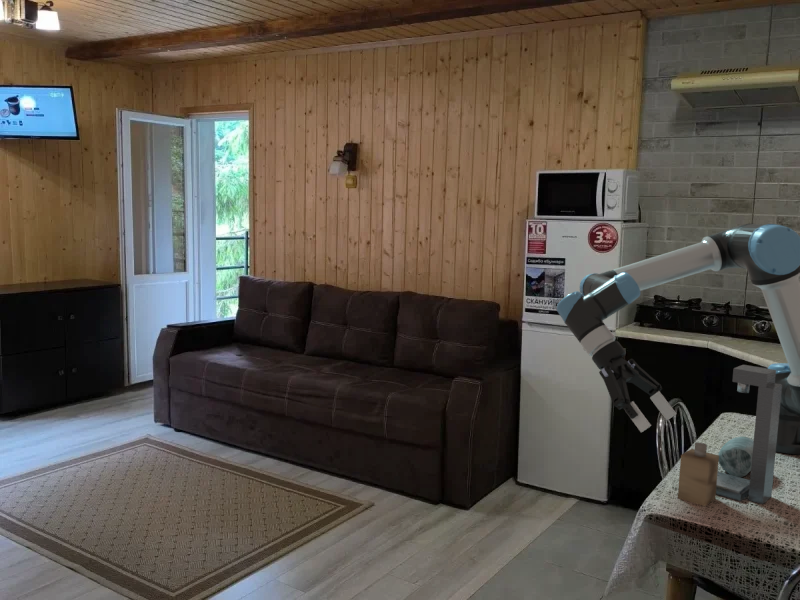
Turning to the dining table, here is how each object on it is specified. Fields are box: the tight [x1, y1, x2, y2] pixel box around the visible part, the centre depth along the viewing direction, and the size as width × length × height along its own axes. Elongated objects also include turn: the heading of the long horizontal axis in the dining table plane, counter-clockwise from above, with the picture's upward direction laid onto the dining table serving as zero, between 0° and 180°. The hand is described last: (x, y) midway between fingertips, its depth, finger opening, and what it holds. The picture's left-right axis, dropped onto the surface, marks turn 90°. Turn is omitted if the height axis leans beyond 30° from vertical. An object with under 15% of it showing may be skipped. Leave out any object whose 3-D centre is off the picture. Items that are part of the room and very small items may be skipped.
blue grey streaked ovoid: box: [717, 436, 754, 478], centre depth 175 cm, size 14×10×10 cm
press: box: [716, 364, 782, 505], centre depth 161 cm, size 10×14×29 cm
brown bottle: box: [677, 442, 719, 507], centre depth 157 cm, size 6×6×12 cm
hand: (659, 423), depth 163 cm, fingers open, 13 cm apart
